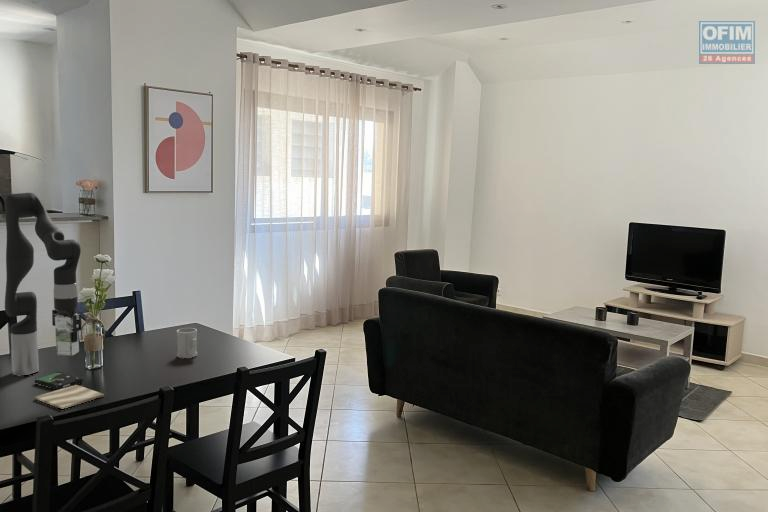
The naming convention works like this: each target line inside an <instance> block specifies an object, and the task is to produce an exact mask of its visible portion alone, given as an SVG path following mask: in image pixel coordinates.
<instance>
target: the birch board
mask: <svg viewBox="0 0 768 512" xmlns="http://www.w3.org/2000/svg"><path fill="white" fill-rule="evenodd" d="M102 396H104V397H105V394H104V393H103V392H99V391H96V390H93V389H90V388H87V387H84V386H83V385H74V386H70V387H67V388H63V389H60V390H53V391H49V392H47V393H42V394H39V395H35V396H34V400H35V399H38V400H40V401H42V402H45V403H47V404H50V405H53V406H55V407H58V408H61V409H64V408H68V407H71V406H74V405H77V404H81V403H84V402H87V401H90V402H92V401H91V400H93V401H95V400H94V399H96V398H99V397H102ZM87 403H88V402H87ZM47 404H46V405H47ZM84 404H85V403H84ZM81 405H82V404H81ZM68 409H69V408H68Z"/></svg>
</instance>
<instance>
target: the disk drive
mask: <svg viewBox="0 0 768 512" xmlns="http://www.w3.org/2000/svg"><path fill="white" fill-rule="evenodd" d="M82 382H83V383H84V378H83V377H79V376H77V375H72V374H68V373H64V372H60V371H57V372H53V373H50V374H46V375H45V376H41V377H36V378H35V379H34V384H35V383H38V384H41V385H44V386H48V387H51V388H54V389H59V390H60V389H63V388H67V387H70V386H73V385H76V384H79V383H82ZM54 389H53V390H54Z"/></svg>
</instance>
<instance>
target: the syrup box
mask: <svg viewBox="0 0 768 512" xmlns="http://www.w3.org/2000/svg"><path fill="white" fill-rule="evenodd" d="M72 318H73V317H72ZM72 318H69V317H65V318H64V317H63V315H57V316H55V326H54V327H55V352H56V356H60V357H61V356H62V357H63V356H67V357H73V356H74V355H76V354H78V353H79V352H80V344H79V340H78V341H77V342H74V343H72V342H71V337H70V332H71V331H70V329H69V327H67V322H66V320H67V321H68V322H69V323H70V324H72V323H73V320H72ZM77 326H78V324H77ZM72 328H73V326H72ZM77 334H78V336H77V337H78V338H79V331H78V332H77Z"/></svg>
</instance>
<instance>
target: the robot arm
mask: <svg viewBox="0 0 768 512" xmlns="http://www.w3.org/2000/svg"><path fill="white" fill-rule="evenodd" d="M4 213H5V214H4V216H5V225H6V246H5V247H6V249H5V263H6V264H5V267H6V270H5V271H6V282H5V295H4V312H5V313H6V315H7V316H8V317H22V316H25V317H24V318H23V319H22V320H19V321H18V322H16V323H13V324H12V325H11V326H10V329H9V330H10V345H11V346H10V347H11V351H10V353H11V372H12V371H13V373H12V375H13V374H16V375H22V374H30V373H35V372H37V371H39V372H40V370H39V369H40V368H39V363H40V362H39V347H38V346H39V344H38V325H37V324H38V323H37V322H38V321H37V319H38V318H37V317H38V315H37V313H38V309H37V308H38V305H37V304H38V301H37V295H36V294H35V292H33V291H25V292H24V291H23V292H17V291H18V287H19V286H20V284H21V282H22V281H23V279H24V278H25V277H26V276H27V275H28V274H29V272H30V271H31V270H32V268H33V266H34V263H35V260H34V257H35V256H34V255H35V254H34V253H35V252H34V251H35V249H34V247H33V245H32V243H31V242H30V240H29V239H28V238H27V236H25V234H24V233H23V231H22V230H21V228H20V224H19V223H20V221H19V220H20V219H25V218H32V217H34V218H36V221H35V225H34V231H35V233H36V235H37V237H38V238H39V239H40V240H41V242H42V243H43V245H44V247H45V250H46V253H47V257H49V258H50V259H51V260H52V261H65V263H64V264H62V265H60V266H57V267H55V268H54V269H53V308H54V309H52V311H51V313H52V314H51V318H52V319H51V321H52V323H51V325H52V326H54V327H55V316H57V315H63V317H64V318H65V317H69V318H72V317H73V318H72V320H73V323H72V324H70V323H69V322H68V321H67V320H66V322H67V327H69V329H70V331H71V332H70V337H71V342H72V343H74V342H77V341H78V342H79V331H82V329H83V328H82V326H83V325H82V314H80V313H76V309H78V307H79V302H78V301H79V300H78V296H79V295H78V285H77V268H78V264H79V261H80V258H81V257H80V256H81V251H82V250H81V249H82V248H81V245H80V243H79V242H78V241H77V240H76V239H65V234H64V233H63V232H62V230H60V229H59V227H58V226H57V225H56V223H54V221H53V220H52V218H51V216H50V215H49V213H48V211H47V210H46V208H45V206H44V203H42V201H41V199H40V197H39V196H38V195H37V194H35V192H34V193H33V192H25V193H24V192H19V193H10V194H7V195H6V196H5V199H4ZM77 324H78V326H77ZM72 326H73V328H72ZM77 332H78V334H77ZM77 336H78V337H77Z"/></svg>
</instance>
